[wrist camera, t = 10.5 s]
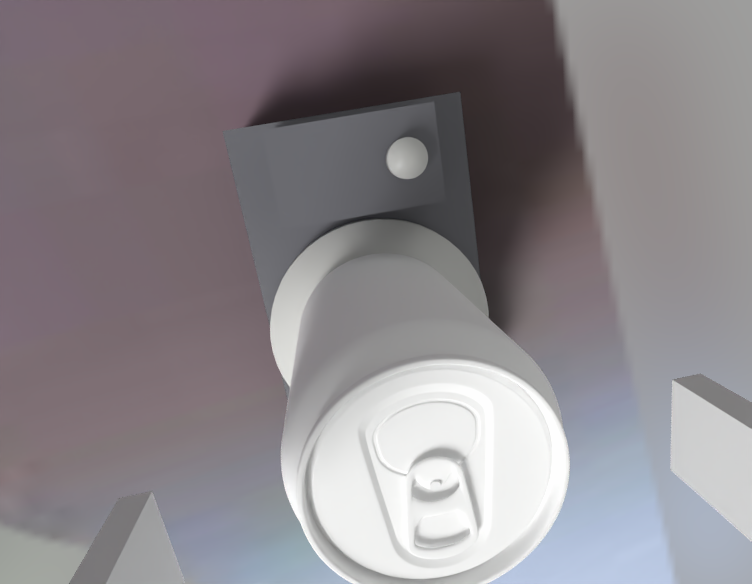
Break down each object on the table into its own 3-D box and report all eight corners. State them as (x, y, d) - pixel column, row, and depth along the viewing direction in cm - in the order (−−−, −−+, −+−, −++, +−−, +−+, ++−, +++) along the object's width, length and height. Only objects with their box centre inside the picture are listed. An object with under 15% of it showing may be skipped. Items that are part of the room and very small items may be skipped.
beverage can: (451, 237, 23) (583, 310, 11) (468, 387, 25) (593, 578, 13) (284, 266, 22) (241, 374, 11) (316, 417, 24) (309, 642, 13)
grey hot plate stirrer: (238, 136, 25) (201, 123, 17) (439, 103, 26) (487, 76, 18) (300, 403, 29) (292, 484, 22) (471, 368, 30) (521, 436, 22)
